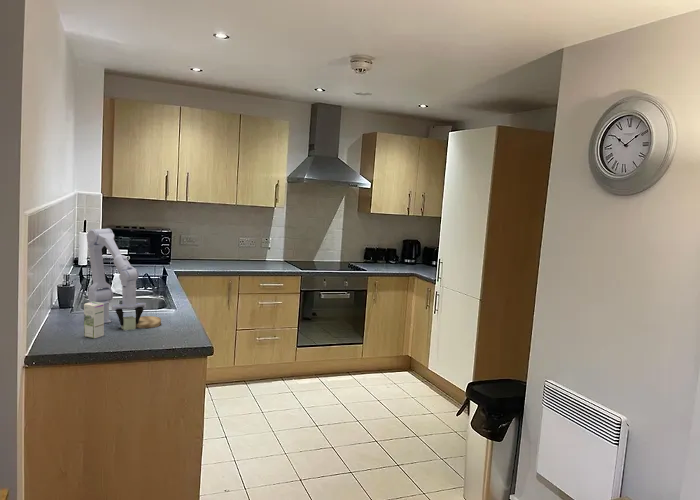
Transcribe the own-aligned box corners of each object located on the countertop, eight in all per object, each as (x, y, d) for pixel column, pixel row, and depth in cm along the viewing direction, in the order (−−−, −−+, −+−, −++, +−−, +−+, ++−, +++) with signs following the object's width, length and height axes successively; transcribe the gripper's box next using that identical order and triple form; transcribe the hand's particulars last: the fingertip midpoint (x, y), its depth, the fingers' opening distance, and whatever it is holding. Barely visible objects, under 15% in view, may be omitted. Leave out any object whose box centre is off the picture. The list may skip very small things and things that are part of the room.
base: (136, 329, 244) (136, 324, 244) (128, 322, 254) (128, 317, 254) (164, 326, 252) (164, 321, 251) (155, 320, 262) (156, 315, 262)
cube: (123, 330, 242) (124, 319, 241) (121, 327, 245) (121, 317, 245) (135, 329, 245) (135, 318, 244) (132, 326, 249) (132, 316, 248)
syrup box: (104, 335, 232) (104, 302, 230) (93, 338, 226) (94, 305, 224) (93, 333, 233) (94, 301, 232) (83, 336, 228) (83, 303, 226)
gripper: (114, 298, 236) (114, 328, 237) (148, 295, 245) (148, 324, 246) (110, 295, 241) (110, 324, 243) (143, 292, 250) (143, 321, 252)
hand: (129, 324), depth 245 cm, fingers open, 6 cm apart
